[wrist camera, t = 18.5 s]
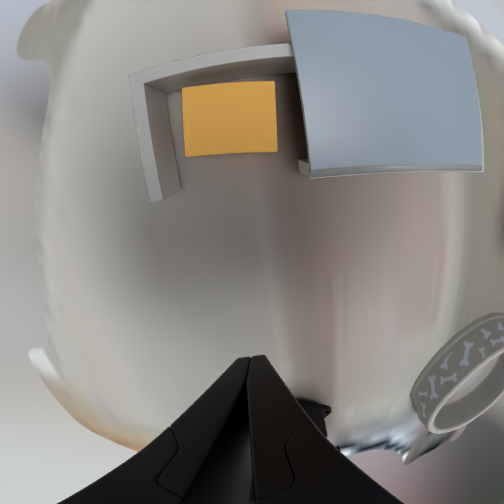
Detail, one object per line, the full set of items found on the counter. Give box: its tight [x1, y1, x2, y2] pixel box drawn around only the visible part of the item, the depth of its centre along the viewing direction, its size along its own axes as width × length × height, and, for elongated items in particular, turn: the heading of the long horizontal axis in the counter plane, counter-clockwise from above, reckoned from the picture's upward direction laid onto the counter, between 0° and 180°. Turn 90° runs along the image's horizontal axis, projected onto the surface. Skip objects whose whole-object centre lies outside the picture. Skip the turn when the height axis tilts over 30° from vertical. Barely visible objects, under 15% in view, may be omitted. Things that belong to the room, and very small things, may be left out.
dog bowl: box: [410, 313, 504, 434], centre depth 24 cm, size 17×18×5 cm
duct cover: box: [285, 10, 483, 178], centre depth 12 cm, size 9×12×1 cm
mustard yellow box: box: [182, 81, 277, 157], centre depth 15 cm, size 4×5×4 cm
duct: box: [129, 43, 484, 203], centre depth 14 cm, size 8×22×4 cm, turn 98°
